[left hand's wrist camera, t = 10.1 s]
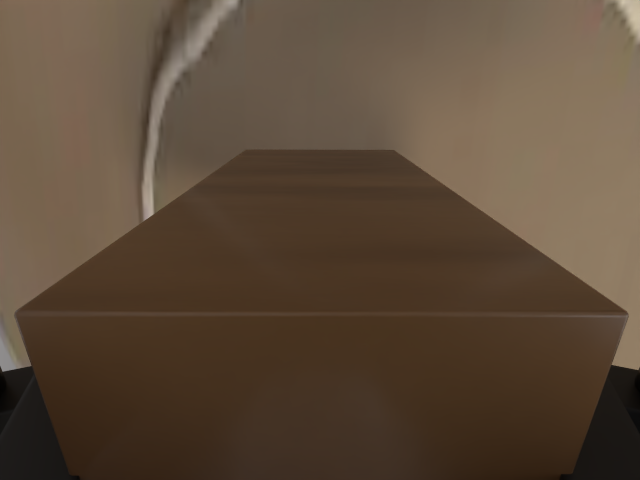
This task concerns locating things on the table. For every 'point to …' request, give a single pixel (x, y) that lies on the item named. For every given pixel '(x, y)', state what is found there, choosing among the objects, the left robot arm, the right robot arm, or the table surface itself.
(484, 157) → the table surface
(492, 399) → the box
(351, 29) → the table surface
